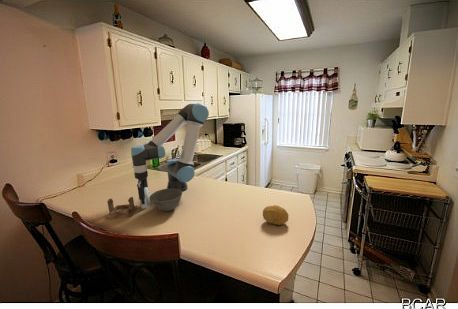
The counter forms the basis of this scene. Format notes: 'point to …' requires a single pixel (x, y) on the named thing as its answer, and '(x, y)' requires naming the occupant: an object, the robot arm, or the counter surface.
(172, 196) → the bowl
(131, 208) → the stand
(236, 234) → the counter surface
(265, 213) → the potato
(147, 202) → the roll
